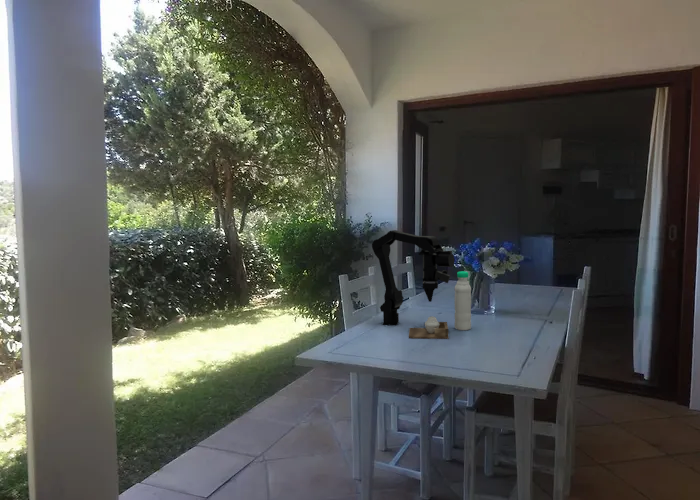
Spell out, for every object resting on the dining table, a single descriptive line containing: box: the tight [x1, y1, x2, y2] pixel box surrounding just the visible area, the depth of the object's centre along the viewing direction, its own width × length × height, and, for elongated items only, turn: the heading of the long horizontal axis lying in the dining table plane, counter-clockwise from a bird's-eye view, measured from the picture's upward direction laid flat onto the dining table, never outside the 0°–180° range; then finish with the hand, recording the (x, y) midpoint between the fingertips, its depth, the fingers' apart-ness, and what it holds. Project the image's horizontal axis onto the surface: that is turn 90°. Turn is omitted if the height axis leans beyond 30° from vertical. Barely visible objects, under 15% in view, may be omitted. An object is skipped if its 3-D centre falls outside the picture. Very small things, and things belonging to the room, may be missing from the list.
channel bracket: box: [408, 321, 449, 340], centre depth 206 cm, size 16×14×4 cm
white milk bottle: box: [454, 270, 472, 331], centre depth 212 cm, size 7×7×25 cm
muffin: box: [424, 315, 440, 333], centre depth 205 cm, size 6×6×7 cm
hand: (430, 301), depth 211 cm, fingers closed
